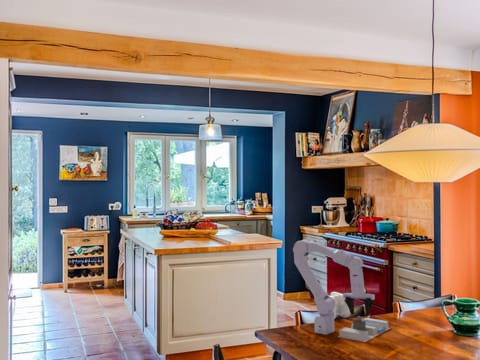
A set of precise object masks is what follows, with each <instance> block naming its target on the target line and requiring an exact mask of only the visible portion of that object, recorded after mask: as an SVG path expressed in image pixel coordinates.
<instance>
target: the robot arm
mask: <svg viewBox="0 0 480 360" xmlns="http://www.w3.org/2000/svg"><path fill="white" fill-rule="evenodd" d="M292 251H293V261H294V265H295V266H296V268H297V270H298V272H299V273H300V274H301V277H302V278H303V280H304V281H305V283H306V285H307V287H308V288H309V291H310V292H311V294H312V295H313V298H314V299H313V300H314V303H315V304H316V311H317V315H316V316H315V318H314V322H313V324H314V333H315V334H322V335H329V334H332V333H334V332H335V319H334V311H333V308H334V307H335V302H334V300H333V299H332V298H331V297H330V296H331V295H329V293H328V292H326V291H325V290H324V289H323V287H322V284H320V283H321V282H319V280H318V278H317V277H316V275H315V274H314V272H313V270H312V268H311V267H310V265H309V263H308V262H307V261H308V256H309V254H310V253H313V252H316V253H319V254H321V255H325V256H327V257H329V258H332V261H333V262H334V263H337V264H339V265H341V266H344V267H347V268H348V269H349V278H350V286H351V287H350V288H351V292H344V293H342V294H343V298H345V300H344V301H345V303H346V304H347V306H348V308H349V310H350V315H354V314H355V299H361V300H363V303H364V307H365V313H366V317H369V316H370V315H371V310H372V307H373V302H374V301H375V299H376V298H375V296H376V295H375V294H372V293H366V291H365V290H366V289H365V281H364V272H363V265H364V261H363V259H362V258H361V257H360V256H358V255H354V254H350V253H347V252H345V250H344V249H340V250H339V249H336V250H333V249H331V248H329V247H327V246H325V245H323V244H321V243H318V242H317V241H315V240H310V239H308V238H304V239H302V240H298V241H296V242H295V243H294V244H293V248H292Z"/></svg>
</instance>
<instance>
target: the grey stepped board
mask: <svg viewBox="0 0 480 360" xmlns="http://www.w3.org/2000/svg"><path fill="white" fill-rule="evenodd" d="M361 320H363V321H365V324H366V331H363V330H357V329H353V323H352V324H351V325H350V327H345V326H344V327H343V328H341V329H339V330H338V333H339V335H338V336H337V337H338V338H343V339H348V340H353V341H358V342H363V343H366V342H368V341H369V340H371V339H374V338H376V337H377V336H379V335H380V334H383V333H384V332H386V331H388V330H390V329H391V327H389V321H388V320H383V319H375V318H369V317H365V318H361Z"/></svg>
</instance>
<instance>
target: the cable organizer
mask: <svg viewBox="0 0 480 360" xmlns="http://www.w3.org/2000/svg"><path fill="white" fill-rule="evenodd" d="M329 296H330V297H331V298H332V299H333V300H334V302H335V307H334V308H333V311H334V320H335V319H336V318H337V316H340V317H342V318H344V319H347V318H349V317H350V315H351V313H350V310H349V308H348V306H347V304H346V303H345V301H344V300H345V298H343V293H340V292H338V291H332V292H330V295H329Z"/></svg>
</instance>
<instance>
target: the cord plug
mask: <svg viewBox="0 0 480 360" xmlns="http://www.w3.org/2000/svg"><path fill="white" fill-rule="evenodd" d="M361 319H362V316H360V315H357V316H356V319H355V320H353V321H352V324H353V329H357V330H363V331H366V324H365V321H363V320H361Z"/></svg>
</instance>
